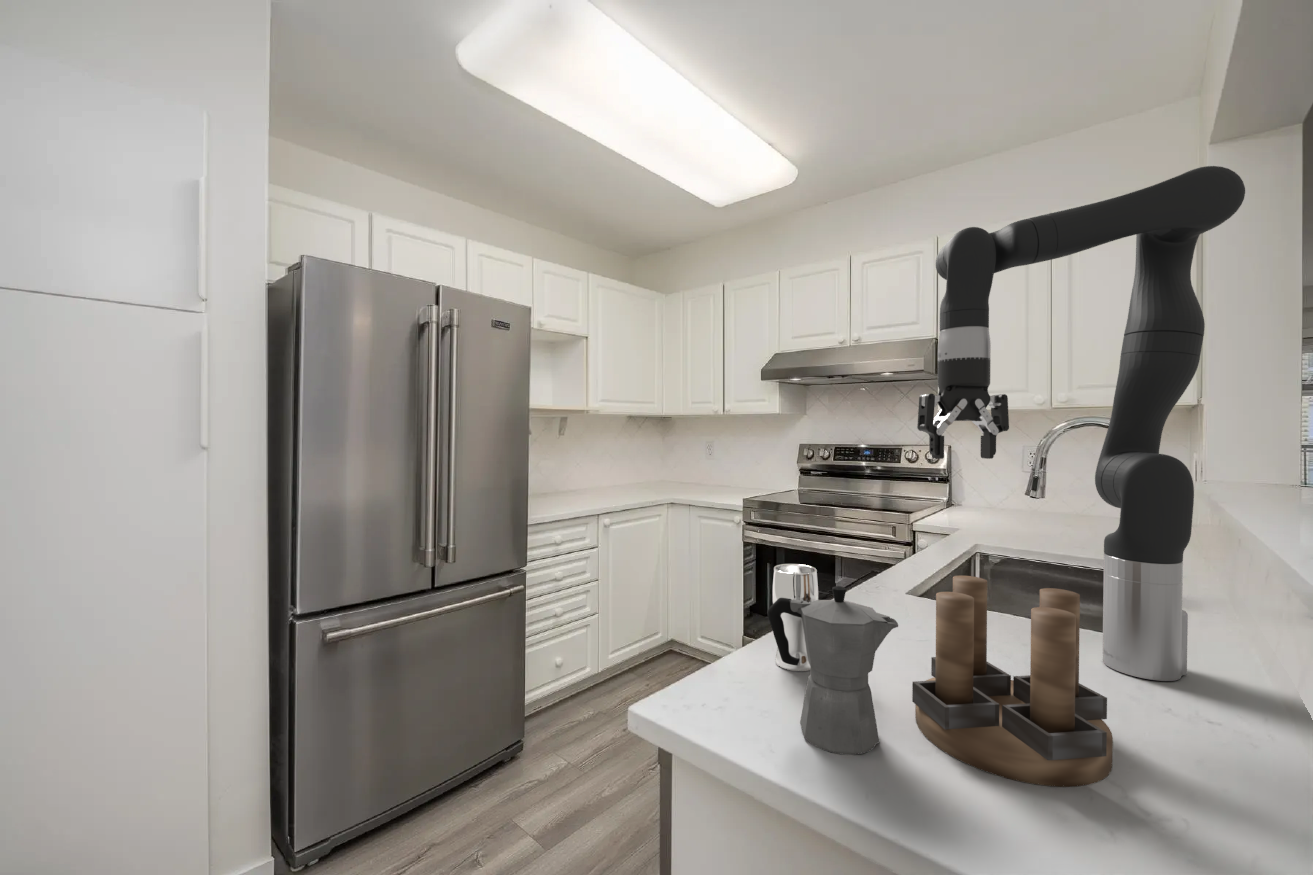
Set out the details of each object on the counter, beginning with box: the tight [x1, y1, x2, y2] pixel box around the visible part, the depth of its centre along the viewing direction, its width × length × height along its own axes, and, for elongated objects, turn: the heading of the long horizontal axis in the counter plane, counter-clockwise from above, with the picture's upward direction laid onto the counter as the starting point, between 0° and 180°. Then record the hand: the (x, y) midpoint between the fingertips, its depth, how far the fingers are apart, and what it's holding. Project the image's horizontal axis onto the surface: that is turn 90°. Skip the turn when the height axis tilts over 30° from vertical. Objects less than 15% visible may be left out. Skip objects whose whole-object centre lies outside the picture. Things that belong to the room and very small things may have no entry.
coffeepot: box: [767, 585, 899, 756], centre depth 69 cm, size 15×9×18 cm, turn 62°
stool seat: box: [911, 587, 1114, 788], centre depth 69 cm, size 20×20×17 cm
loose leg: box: [952, 575, 988, 676], centre depth 75 cm, size 4×4×14 cm
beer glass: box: [772, 563, 819, 672], centre depth 89 cm, size 7×7×15 cm
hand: (962, 458), depth 92 cm, fingers open, 8 cm apart
